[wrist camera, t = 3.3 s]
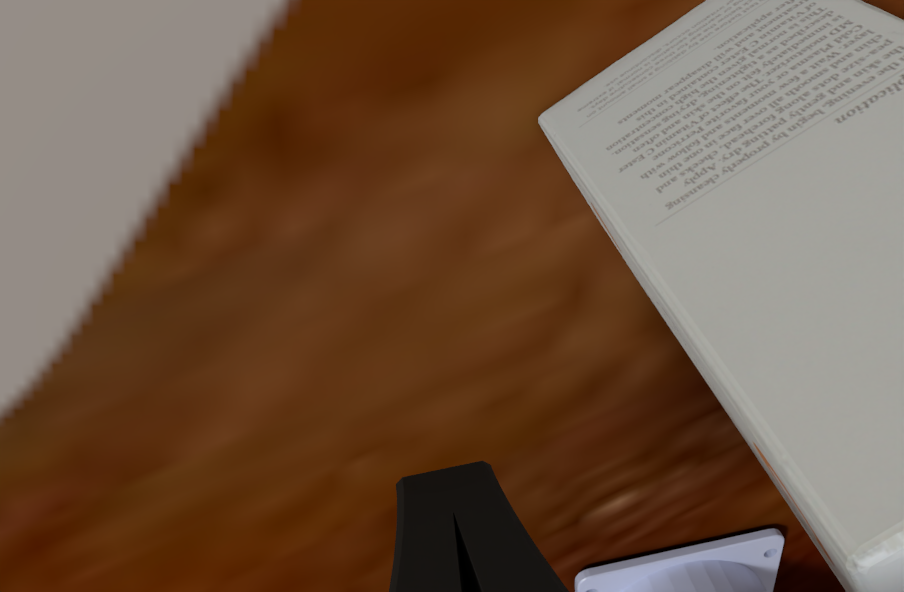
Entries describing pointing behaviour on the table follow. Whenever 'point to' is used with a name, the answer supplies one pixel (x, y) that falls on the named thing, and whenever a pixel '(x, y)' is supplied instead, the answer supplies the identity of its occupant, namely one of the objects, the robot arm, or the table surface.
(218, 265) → the table surface
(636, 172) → the small box
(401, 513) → the robot arm
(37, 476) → the table surface
